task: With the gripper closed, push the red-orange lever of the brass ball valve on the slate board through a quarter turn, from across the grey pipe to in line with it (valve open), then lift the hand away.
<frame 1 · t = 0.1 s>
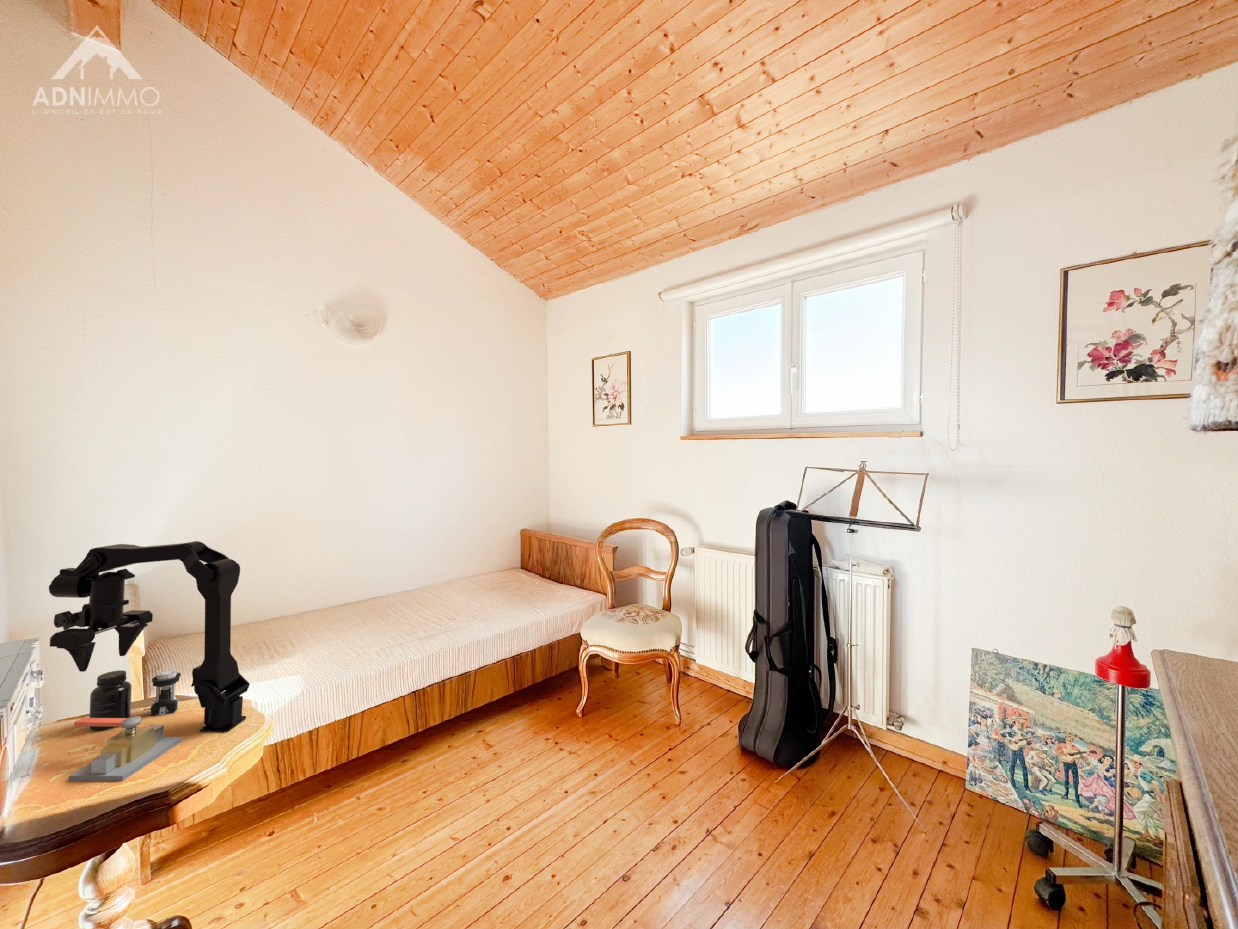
hand: (103, 663, 115), 15 cm above the table, fingers open, 9 cm apart
board: (129, 759, 102), on the table
push button: (161, 713, 121), on the table
supplement bottle: (109, 725, 115), on the table
valve: (129, 759, 102), resting on board
lever: (108, 722, 102), point 8 cm above the table, hinge at 0.0°
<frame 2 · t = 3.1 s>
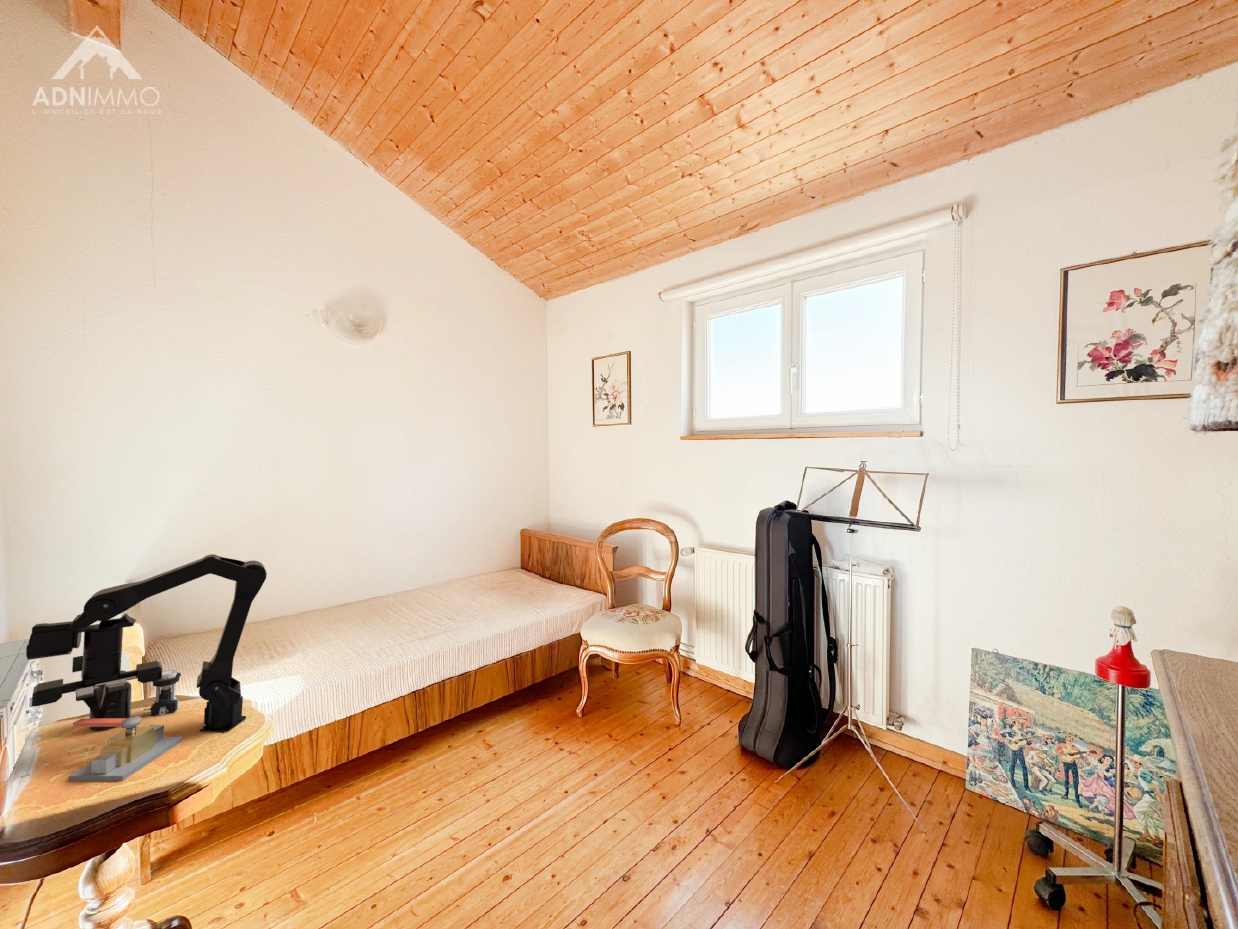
hand: (98, 721, 103), 7 cm above the table, fingers closed
lever: (108, 722, 102), point 8 cm above the table, hinge at 1.5°, touching gripper
everything else where it was.
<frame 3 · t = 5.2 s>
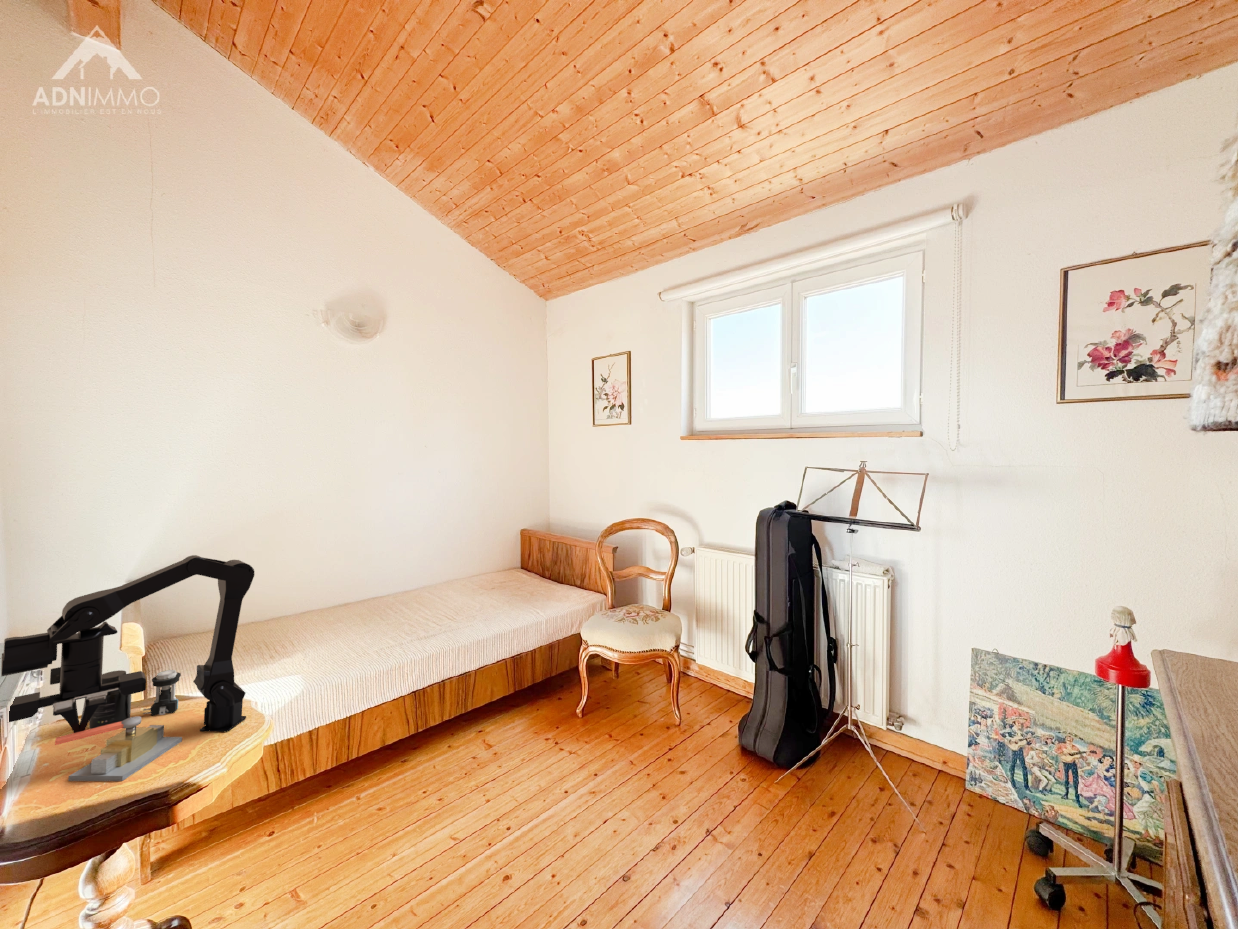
hand: (79, 736, 98), 7 cm above the table, fingers closed, pressing on lever
lever: (100, 730, 99), point 8 cm above the table, hinge at 43.6°, touching gripper
everything else where it was.
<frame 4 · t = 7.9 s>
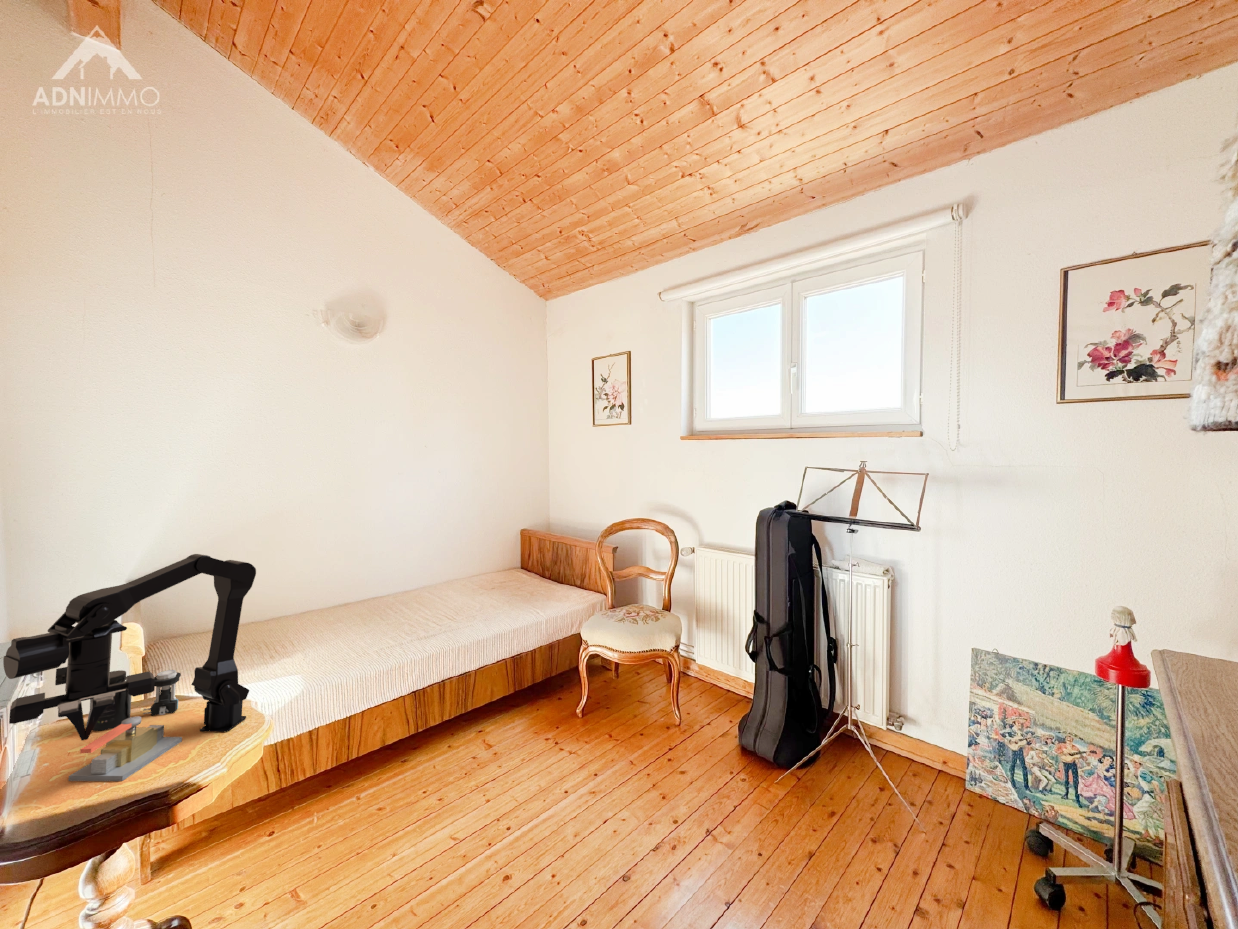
hand: (84, 739, 94), 9 cm above the table, fingers closed
lever: (112, 734, 98), point 8 cm above the table, hinge at 96.1°
everything else where it was.
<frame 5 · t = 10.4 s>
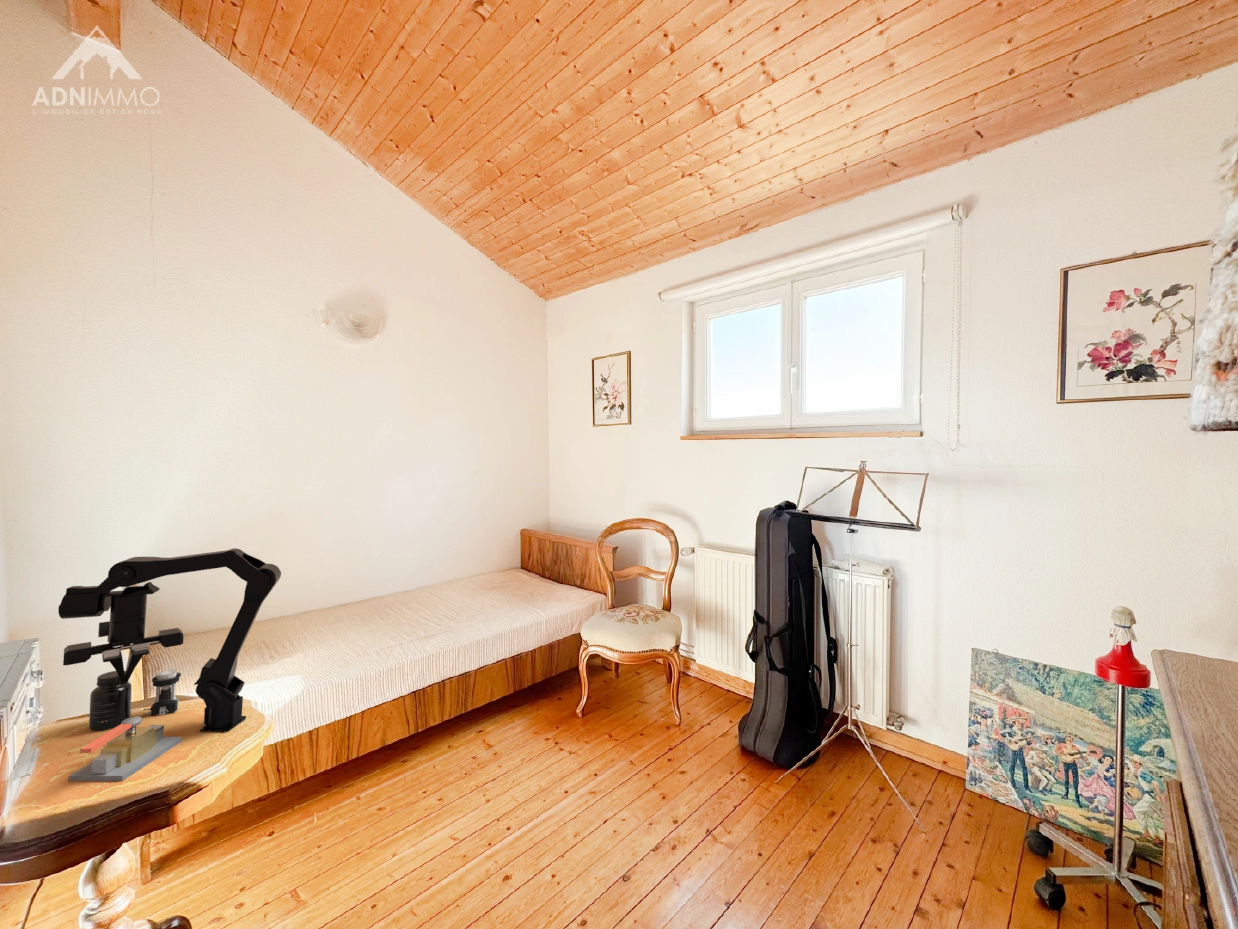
hand: (124, 683, 109), 13 cm above the table, fingers closed
nothing on the table moved.
at the end: lever at +96° (first picture: +0°); lever touching nothing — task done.
